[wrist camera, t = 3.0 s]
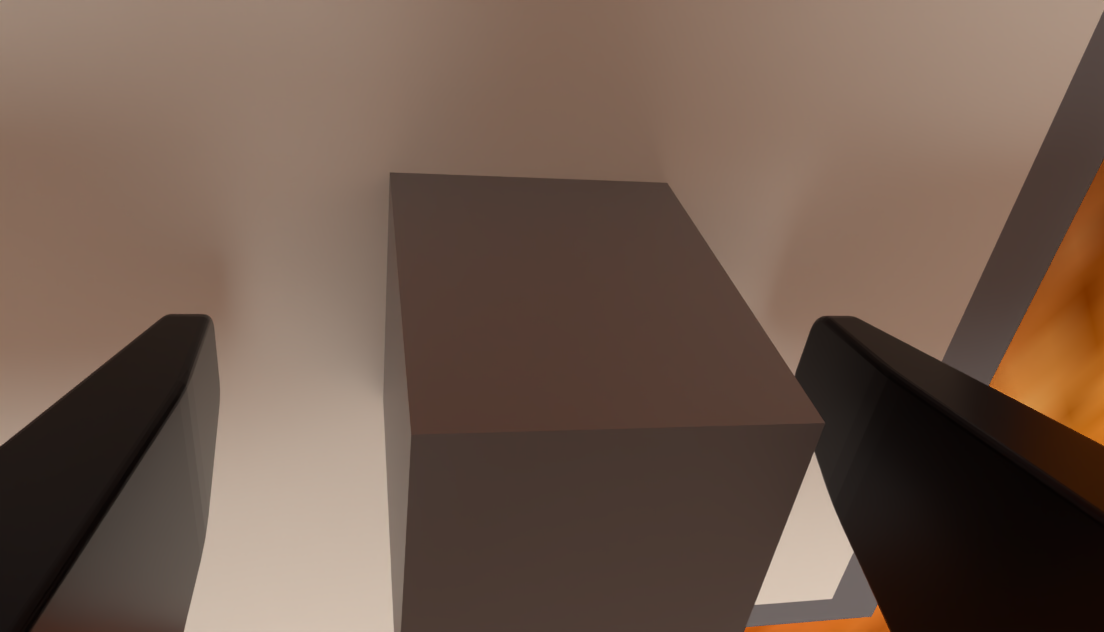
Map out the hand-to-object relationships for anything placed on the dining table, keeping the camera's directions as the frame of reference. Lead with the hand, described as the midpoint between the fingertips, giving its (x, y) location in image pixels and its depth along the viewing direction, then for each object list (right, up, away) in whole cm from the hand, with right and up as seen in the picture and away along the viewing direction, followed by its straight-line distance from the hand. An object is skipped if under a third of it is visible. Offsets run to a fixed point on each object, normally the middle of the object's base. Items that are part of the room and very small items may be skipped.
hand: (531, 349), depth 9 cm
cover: (0, +1, +2) cm, 2 cm away
